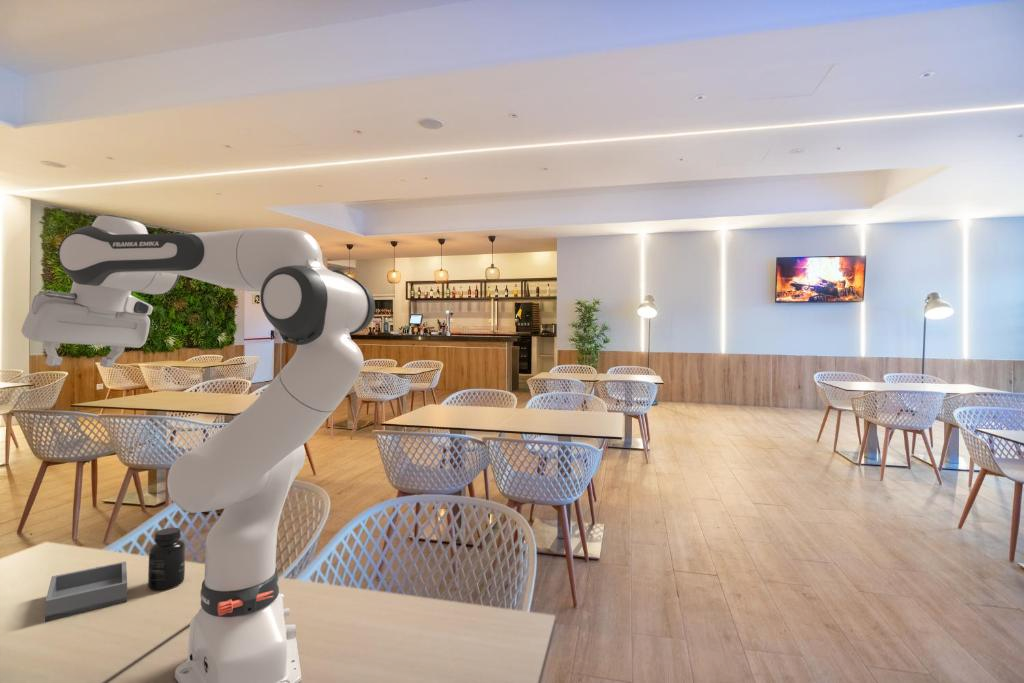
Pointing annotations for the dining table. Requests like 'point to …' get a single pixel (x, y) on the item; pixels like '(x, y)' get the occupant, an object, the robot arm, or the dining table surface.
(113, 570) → the tray
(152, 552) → the supplement bottle
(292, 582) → the dining table surface
